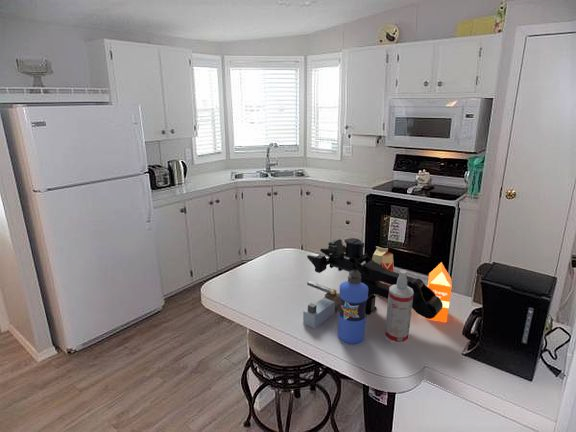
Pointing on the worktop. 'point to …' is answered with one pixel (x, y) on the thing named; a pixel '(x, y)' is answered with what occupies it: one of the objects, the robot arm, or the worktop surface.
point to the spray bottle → (399, 310)
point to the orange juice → (441, 290)
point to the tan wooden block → (334, 298)
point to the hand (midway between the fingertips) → (314, 253)
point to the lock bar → (322, 288)
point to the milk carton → (384, 260)
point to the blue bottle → (352, 309)
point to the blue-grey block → (318, 312)
